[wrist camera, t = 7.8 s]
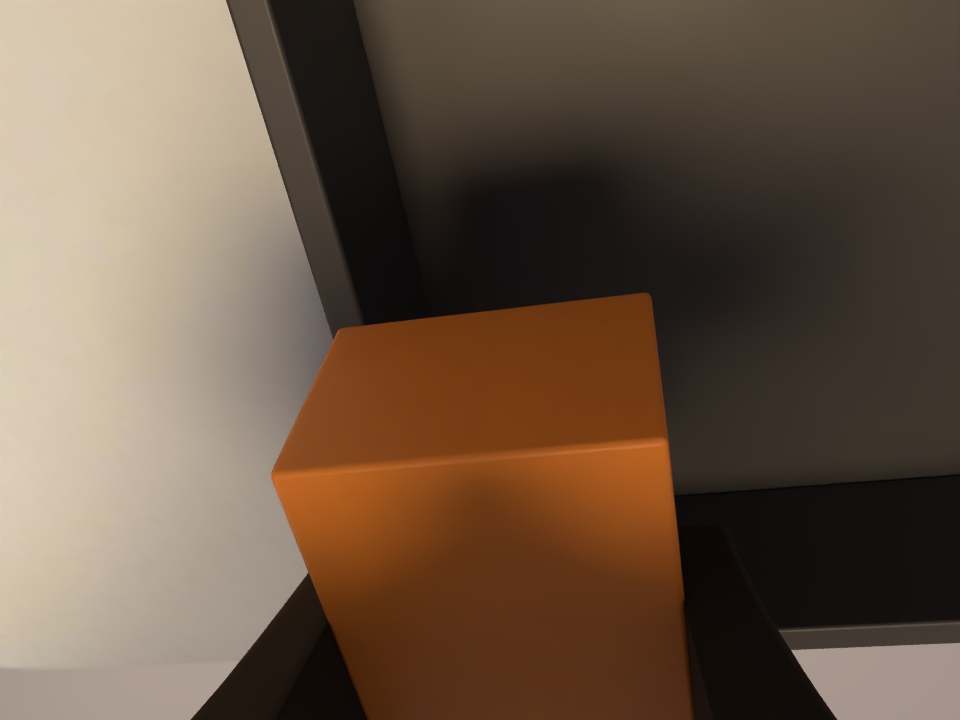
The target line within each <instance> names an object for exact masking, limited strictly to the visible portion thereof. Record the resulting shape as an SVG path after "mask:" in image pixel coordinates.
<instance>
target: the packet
mask: <svg viewBox="0 0 960 720" xmlns="http://www.w3.org/2000/svg"><path fill="white" fill-rule="evenodd" d="M271 478H272V481H273V484H274V486H275V489H276V491H277V494H278V496H279V499H280V501H281V504H282V506H283V509H284V511H285V514H286V516H287V519H288V521H289V524H290V527H291V529H292V532H293V534H294V537H295V539H296V542H297V544H298V547H299V549H300V552H301V554H302V557H303V559H304V562H305V564H306V567H307V569H308V572H309V574H310V577H311V580H312V582H313V585H314V587H315V590H316V592H317V595H318V597H319V600H320V602H321V605H322V607H323V610H324V612H325V615H326V617H327V620H328V622H329V625H330V628H331V630H332V633H333V635H334V638H335V640H336V643H337V645H338V648H339V650H340V653H341V655H342V658H343V660H344V663H345V665H346V668H347V670H348V673H349V675H350V678H351V681H352V683H353V686H354V688H355V691H356V693H357V696H358V698H359V701H360V703H361V706H362V708H363V711H364V713H365V716H366V718H367V720H696V718H695V708H694V698H693V689H692V679H691V669H690V660H689V650H688V640H687V630H686V621H685V611H684V600H685V597H684V587H683V578H682V568H681V558H680V548H679V538H678V528H677V519H676V509H675V499H674V489H673V479H672V470H671V460H670V450H669V440H668V432H667V423H666V415H665V407H664V398H663V390H662V381H661V373H660V365H659V356H658V348H657V339H656V331H655V323H654V314H653V306H652V298H651V296H650V295H649V294H648V293H637V294H628V295H620V296H611V297H603V298H594V299H586V300H577V301H569V302H560V303H552V304H543V305H534V306H526V307H517V308H509V309H500V310H492V311H483V312H475V313H466V314H458V315H449V316H441V317H432V318H424V319H415V320H407V321H398V322H390V323H381V324H373V325H364V326H356V327H347V328H342V329H340V330H338V332H337V334H336V336H335V338H334V340H333V342H332V344H331V346H330V349H329V351H328V353H327V355H326V357H325V359H324V361H323V363H322V366H321V368H320V370H319V372H318V374H317V376H316V378H315V380H314V383H313V385H312V387H311V389H310V391H309V393H308V395H307V397H306V400H305V402H304V404H303V406H302V408H301V410H300V412H299V414H298V417H297V419H296V421H295V423H294V425H293V427H292V429H291V431H290V434H289V436H288V438H287V440H286V442H285V444H284V446H283V448H282V451H281V453H280V455H279V457H278V459H277V461H276V463H275V465H274V468H273V470H272V473H271Z"/></svg>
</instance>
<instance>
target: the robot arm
mask: <svg viewBox="0 0 960 720" xmlns="http://www.w3.org/2000/svg"><path fill="white" fill-rule="evenodd" d="M677 528H678V538H679V548H680V558H681V568H682V578H683V587H684V597H685V600H684V611H685V621H686V630H687V640H688V650H689V660H690V669H691V679H692V689H693V698H694V708H695V718H696V720H837V719H836V717H835V716H834V714H833V713H832V712H831V710H830V709H829V707H828V706H827V705H826V703H825V702H824V700H823V699H822V697H821V696H820V695H819V693H818V692H817V690H816V689H815V687H814V686H813V684H812V683H811V681H810V680H809V678H808V677H807V675H806V674H805V672H804V671H803V669H802V668H801V666H800V664H799V663H798V661H797V659H796V658H795V656H794V655H793V653H792V651H791V650H790V648H789V647H788V645H787V643H786V642H785V640H784V638H783V637H782V635H781V634H780V632H779V630H778V629H777V627H776V625H775V624H774V622H773V620H772V618H771V617H770V615H769V613H768V611H767V610H766V608H765V606H764V604H763V602H762V600H761V599H760V597H759V595H758V593H757V591H756V589H755V587H754V585H753V583H752V581H751V579H750V577H749V575H748V573H747V571H746V569H745V567H744V565H743V562H742V560H741V558H740V556H739V553H738V551H737V548H736V546H735V543H734V540H733V537H732V534H731V531H730V530H729V529H727V528H726V527H725V526H723V525H722V524H713V525H698V526H683V527H677ZM191 720H367V718H366V716H365V713H364V711H363V708H362V706H361V703H360V701H359V698H358V696H357V693H356V691H355V688H354V686H353V683H352V681H351V678H350V675H349V673H348V670H347V668H346V665H345V663H344V660H343V658H342V655H341V653H340V650H339V648H338V645H337V643H336V640H335V638H334V635H333V633H332V630H331V628H330V625H329V622H328V620H327V617H326V615H325V612H324V610H323V607H322V605H321V602H320V600H319V597H318V595H317V592H316V590H315V587H314V585H313V582H312V580H311V577H310V574H309V573H308V574H307V576H306V577H305V578H304V579H303V581H302V582H301V583H300V585H299V586H298V587H297V589H296V590H295V591H294V593H293V594H292V595H291V597H290V598H289V599H288V600H287V602H286V603H285V604H284V606H283V607H282V608H281V610H280V611H279V612H278V614H277V615H276V616H275V617H274V619H273V620H272V621H271V623H270V624H269V625H268V627H267V628H266V629H265V630H264V632H263V633H262V634H261V636H260V637H259V638H258V639H257V641H256V642H255V643H254V644H253V646H252V647H251V648H250V649H249V651H248V652H247V653H246V654H245V656H244V657H243V658H242V659H241V661H240V662H239V663H238V664H237V666H236V667H235V668H234V669H233V671H232V672H231V673H230V674H229V676H228V677H227V678H226V679H225V681H224V682H223V683H222V684H221V685H220V686H219V688H218V689H217V690H216V691H215V692H214V694H213V695H212V696H211V697H210V698H209V699H208V701H207V702H206V703H205V704H204V705H203V706H202V707H201V709H200V710H199V711H198V712H197V713H196V714H195V715H194V717H193V718H192V719H191Z"/></svg>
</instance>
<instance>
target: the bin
mask: <svg viewBox="0 0 960 720" xmlns="http://www.w3.org/2000/svg"><path fill="white" fill-rule="evenodd" d="M226 2H227V5H228V8H229V11H230V14H231V17H232V21H233V24H234V27H235V30H236V33H237V36H238V40H239V43H240V46H241V49H242V52H243V55H244V58H245V62H246V65H247V68H248V71H249V74H250V77H251V81H252V84H253V87H254V90H255V93H256V96H257V100H258V103H259V106H260V109H261V112H262V115H263V119H264V122H265V125H266V128H267V131H268V134H269V138H270V141H271V144H272V147H273V150H274V153H275V157H276V160H277V163H278V166H279V169H280V172H281V176H282V179H283V182H284V185H285V188H286V191H287V195H288V198H289V201H290V204H291V207H292V210H293V214H294V217H295V220H296V223H297V226H298V229H299V232H300V236H301V239H302V242H303V245H304V248H305V251H306V255H307V258H308V261H309V264H310V267H311V270H312V274H313V277H314V280H315V283H316V286H317V289H318V293H319V296H320V299H321V302H322V305H323V308H324V312H325V315H326V318H327V321H328V324H329V327H330V331H331V334H332V337H333V340H334V338H335V336H336V334H337V332H338V330H340V329H342V328H347V327H356V326H364V325H373V324H381V323H390V322H398V321H407V320H415V319H424V318H432V317H441V316H449V315H458V314H466V313H475V312H483V311H492V310H500V309H509V308H517V307H526V306H534V305H543V304H552V303H560V302H569V301H577V300H586V299H594V298H603V297H611V296H620V295H628V294H637V293H648V294H649V295H650V296H651V298H652V306H653V314H654V323H655V331H656V339H657V348H658V356H659V365H660V373H661V381H662V390H663V398H664V407H665V415H666V423H667V432H668V440H669V450H670V460H671V470H672V479H673V489H674V499H675V509H676V519H677V527H683V526H698V525H713V524H722V525H723V526H725V527H726V528H727V529H729V530H730V531H731V534H732V537H733V540H734V543H735V546H736V548H737V551H738V553H739V556H740V558H741V560H742V562H743V565H744V567H745V569H746V571H747V573H748V575H749V577H750V579H751V581H752V583H753V585H754V587H755V589H756V591H757V593H758V595H759V597H760V599H761V600H762V602H763V604H764V606H765V608H766V610H767V611H768V613H769V615H770V617H771V618H772V620H773V622H774V624H775V625H776V627H777V629H778V630H779V632H780V634H781V635H782V637H783V638H784V640H785V642H786V643H787V645H788V647H789V648H790V650H800V649H824V648H848V647H872V646H894V645H919V644H942V643H960V0H226Z"/></svg>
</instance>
